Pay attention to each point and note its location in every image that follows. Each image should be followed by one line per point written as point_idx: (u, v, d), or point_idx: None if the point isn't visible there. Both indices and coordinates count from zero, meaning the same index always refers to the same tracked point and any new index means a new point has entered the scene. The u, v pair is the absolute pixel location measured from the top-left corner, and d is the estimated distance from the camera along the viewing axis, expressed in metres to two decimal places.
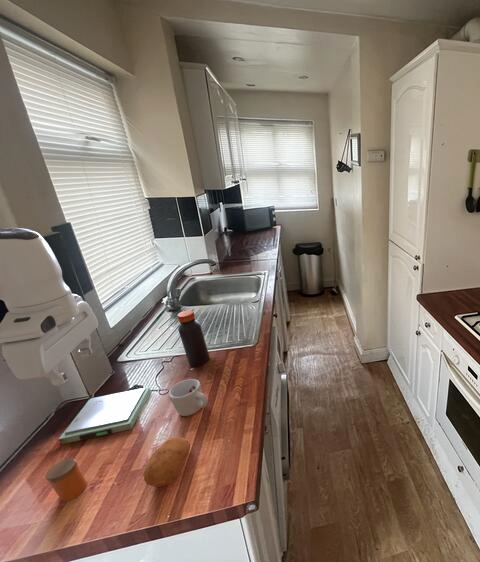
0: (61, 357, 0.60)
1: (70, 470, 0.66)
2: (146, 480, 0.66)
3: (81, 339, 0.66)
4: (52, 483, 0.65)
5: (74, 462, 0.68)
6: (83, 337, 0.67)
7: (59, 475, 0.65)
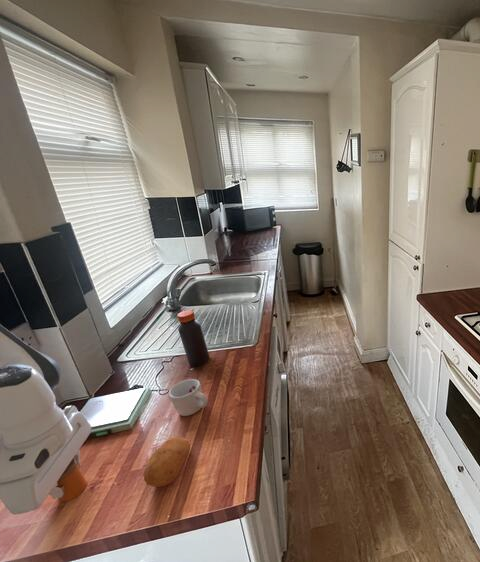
0: (55, 481, 0.63)
1: (70, 470, 0.66)
2: (146, 480, 0.66)
3: (74, 453, 0.69)
4: None
5: (74, 462, 0.68)
6: (76, 450, 0.69)
7: None
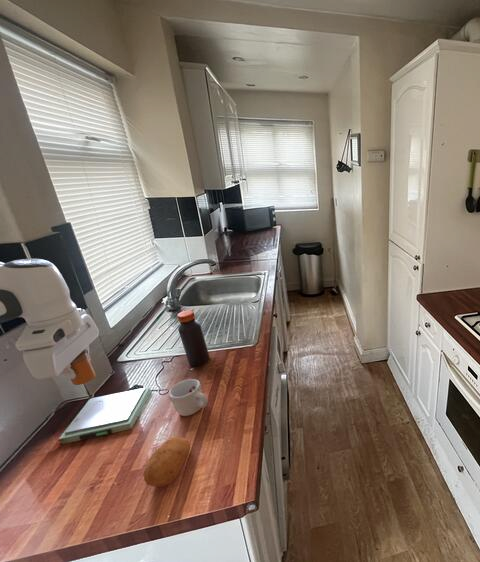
0: (69, 361, 0.74)
1: (81, 357, 0.78)
2: (146, 480, 0.66)
3: (85, 346, 0.80)
4: None
5: (85, 353, 0.79)
6: (86, 344, 0.81)
7: None
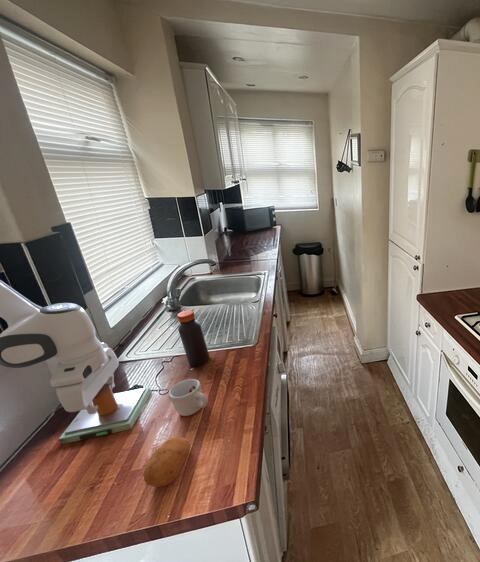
0: (95, 393, 0.82)
1: (106, 390, 0.86)
2: (146, 480, 0.66)
3: (107, 377, 0.88)
4: (93, 399, 0.84)
5: (109, 385, 0.87)
6: (109, 375, 0.89)
7: (99, 393, 0.85)
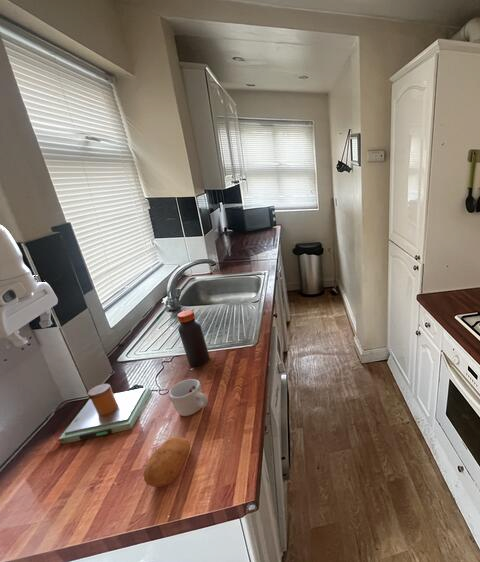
0: (22, 323, 0.75)
1: (106, 390, 0.86)
2: (146, 480, 0.66)
3: (41, 311, 0.81)
4: (93, 399, 0.84)
5: (109, 385, 0.87)
6: (43, 310, 0.82)
7: (99, 393, 0.85)
